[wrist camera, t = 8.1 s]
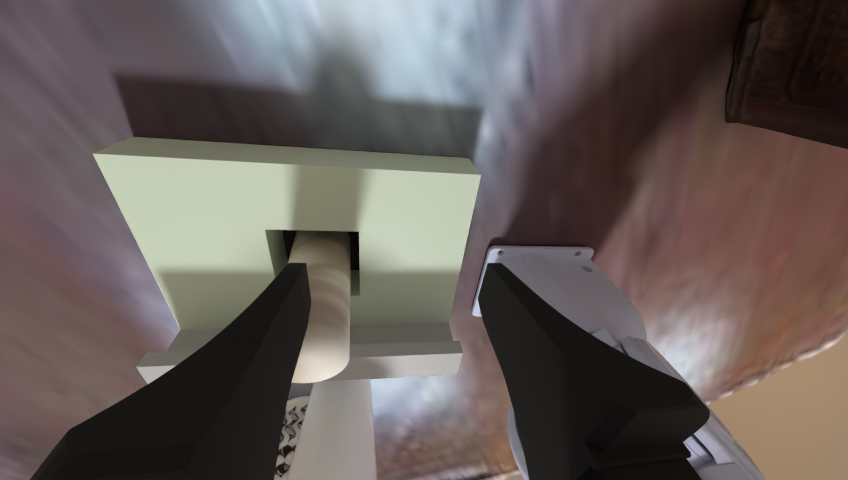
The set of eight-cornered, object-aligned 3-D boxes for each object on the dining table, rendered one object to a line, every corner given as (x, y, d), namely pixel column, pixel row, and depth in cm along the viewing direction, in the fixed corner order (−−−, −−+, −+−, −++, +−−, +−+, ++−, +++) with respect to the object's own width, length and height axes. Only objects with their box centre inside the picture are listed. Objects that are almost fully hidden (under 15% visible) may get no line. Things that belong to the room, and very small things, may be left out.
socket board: (468, 158, 21) (503, 206, 15) (440, 305, 28) (456, 374, 23) (133, 136, 17) (12, 187, 12) (204, 309, 25) (152, 390, 19)
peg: (350, 218, 22) (348, 329, 14) (351, 261, 24) (350, 378, 16) (291, 218, 21) (253, 336, 13) (298, 263, 23) (269, 387, 15)
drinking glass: (298, 350, 29) (240, 579, 17) (365, 333, 29) (355, 551, 17) (326, 386, 33) (296, 594, 21) (386, 371, 33) (391, 572, 21)
